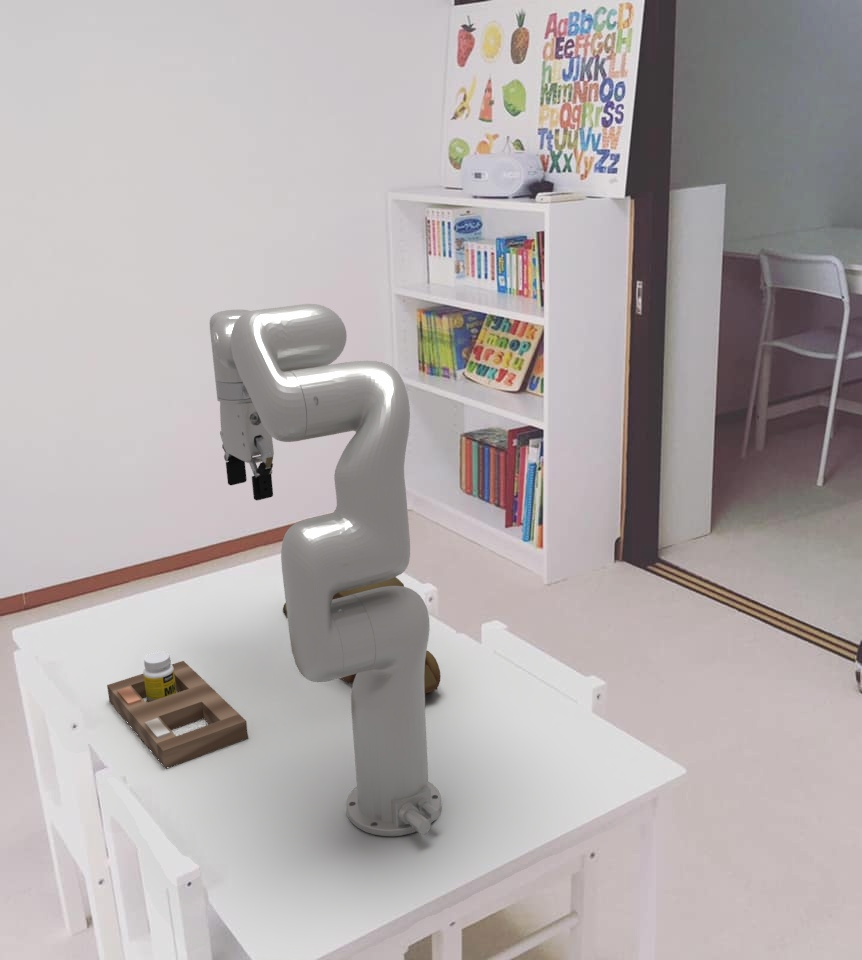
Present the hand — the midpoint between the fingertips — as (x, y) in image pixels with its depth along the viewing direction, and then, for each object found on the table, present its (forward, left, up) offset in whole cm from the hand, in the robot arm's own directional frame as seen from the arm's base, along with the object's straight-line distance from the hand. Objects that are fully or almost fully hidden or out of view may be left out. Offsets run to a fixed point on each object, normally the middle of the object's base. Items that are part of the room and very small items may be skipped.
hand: (250, 490), depth 177 cm
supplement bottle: (-4, +20, -31) cm, 37 cm away
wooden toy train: (-21, -11, -31) cm, 39 cm away
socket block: (-10, +21, -30) cm, 38 cm away
